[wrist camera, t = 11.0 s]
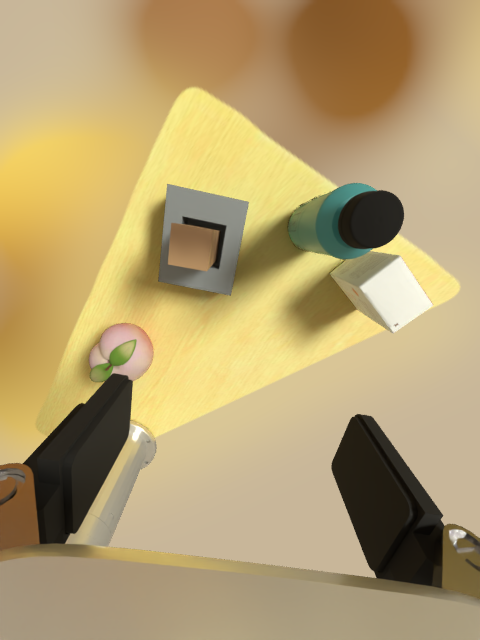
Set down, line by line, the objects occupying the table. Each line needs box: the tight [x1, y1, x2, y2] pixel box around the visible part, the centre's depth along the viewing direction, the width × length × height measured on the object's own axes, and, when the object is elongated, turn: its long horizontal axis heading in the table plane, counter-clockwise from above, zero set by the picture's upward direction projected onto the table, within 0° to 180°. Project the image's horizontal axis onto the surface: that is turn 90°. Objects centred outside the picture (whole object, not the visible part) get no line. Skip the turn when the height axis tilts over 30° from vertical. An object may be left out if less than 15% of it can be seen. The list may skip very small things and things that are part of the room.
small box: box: [330, 251, 433, 333], centre depth 34 cm, size 8×6×10 cm
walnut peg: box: [168, 223, 221, 271], centre depth 30 cm, size 4×4×12 cm
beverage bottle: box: [287, 183, 404, 259], centre depth 27 cm, size 6×7×20 cm
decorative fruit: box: [89, 323, 153, 382], centre depth 38 cm, size 9×8×10 cm
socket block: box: [158, 184, 249, 295], centre depth 35 cm, size 12×10×5 cm
